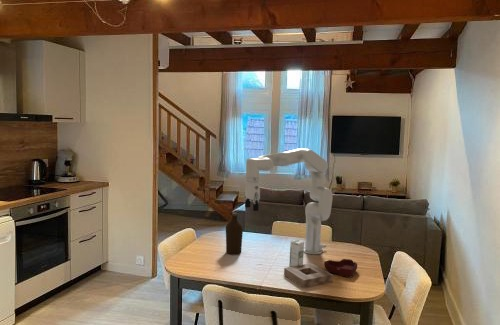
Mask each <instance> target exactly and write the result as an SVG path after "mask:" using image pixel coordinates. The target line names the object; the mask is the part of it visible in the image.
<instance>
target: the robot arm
mask: <svg viewBox="0 0 500 325" xmlns="http://www.w3.org/2000/svg"><path fill="white" fill-rule="evenodd" d="M245 161H246V162H245V163H246V164H245V165H246V166H245V167H246V168H245V191H244V192H243V193H244V204H245V205H244V207H245V208H251V203H252V202H253V204H252V210H253V212H256V211H257V212H258V211H259V208H260V207H259V205H260V200H261V188H260V171H263V172H268V171H271V170H273V168H274V167H287V166H288V167H289V166H292V165H296V164H300V163H303V164H304V167H305V168H306V170H308V172H309V173H310V176H311V178H310V179H311V180H310V181H311V182H310V187H309V198H310V199H311V200H313V201H312V202H311V201H310V202H308V203H307V204H306V205H305V207H304V213H305V239H304V241H305V242H304V253H305V254H307V255H321V254H323V249H325V248H327V244H322V242H321V238H322V222H324V221H327V220H328V219H329V218H330V216H331V212H332V205H333V192H332V190H331V189H330V188H328V187H326V186H325V185H326V176H325V173H326V172H327V170H328V169H329V168H328V167H329V164H328V162H327V161H326V159H324V158H323V157H322V156H320V154H318V153H317V152H315V151H314V150H313V149H311V148H310V149H308V148H303V147H302V148H301V147H300V148H296V149H292V150H291V149H290V150H287V151H282V152H277V153H276V152H275V153H270V154H264V155H260V156H257V157H250V158H249V157H248V158H247V159H246V160H245ZM251 201H252V202H251Z"/></svg>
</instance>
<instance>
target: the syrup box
mask: <svg viewBox="0 0 500 325" xmlns="http://www.w3.org/2000/svg"><path fill="white" fill-rule="evenodd" d="M304 241H305V240H304ZM304 241H303V240H300V239H294V240H292V241H290V248H289V267H293V266H298V265H304V253H305V252H304V247H305V242H304Z"/></svg>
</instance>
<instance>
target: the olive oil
mask: <svg viewBox="0 0 500 325" xmlns="http://www.w3.org/2000/svg"><path fill="white" fill-rule="evenodd" d="M243 231H244V228H243V223H241V221H240V220H239V219H238V213H237V212H232V213H231V219H230V220H229V221H228V222H227V223H226V225H225V244H226V245H225V253H226V254H228V255H232V256H234V255H235V256H236V255H237V256H238V255H240V254H242V243H243V233H244V232H243Z"/></svg>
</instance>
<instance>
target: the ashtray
mask: <svg viewBox="0 0 500 325" xmlns="http://www.w3.org/2000/svg"><path fill="white" fill-rule="evenodd" d="M323 265H324V269H325V271H327V272H329V273H331V274H332V273H333V274H336V275H338V276H342V277H345V278H352V277H353V276H354V274H355V273H356V271H357V269H358V263H357V262H355V261H354V260H352V259H351V258H350V259H347V258H343V259H341V260H332V259H329V260H325V261H324V263H323Z"/></svg>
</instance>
